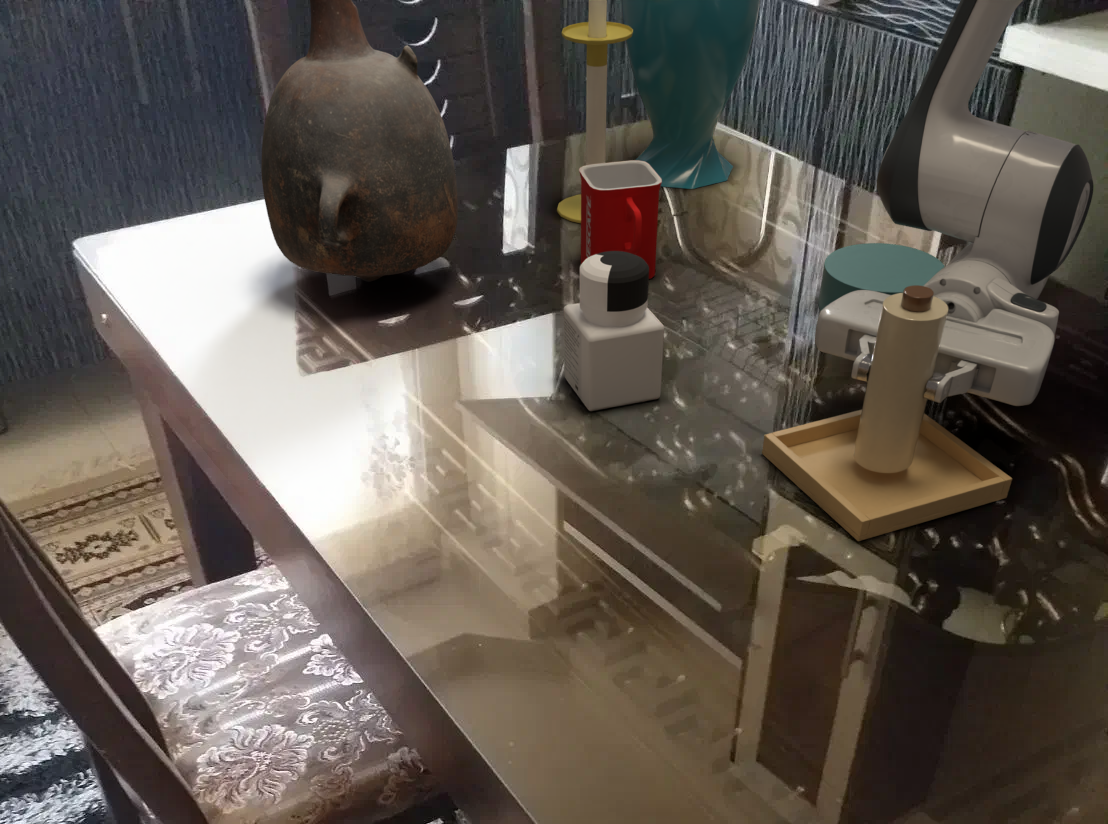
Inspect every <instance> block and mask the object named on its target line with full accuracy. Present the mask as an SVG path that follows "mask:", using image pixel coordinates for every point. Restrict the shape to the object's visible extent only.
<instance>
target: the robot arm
mask: <svg viewBox="0 0 1108 824" xmlns="http://www.w3.org/2000/svg"><path fill="white" fill-rule="evenodd" d="M1023 1H1024V0H960V1H959V3H958V5H957V7H956V9H955V12H954V13H953V16H952V17H951V20H950V22H949V25H948V26H947V29H946V31H945V33H944V35H943V37H942V39H941V41H940V44H939V45H938V48H937V50H936V52H935V54H934V57H933V59H932V61H931V63H930V65H929V67H928V69H927V71H926V73H925V75H924V77H923V79H922V82H921V84H920V86H919V88H918V89H917V90H918V91H917V92H916V95H915V97H914V98H913V100H912V102H911V104H910V105H909V107H908V109H907V111H906V113H905V115H904V117H903V118H902V120H901V122H900V124H899V126H898V128H897V129H896V131H895V133H894V135H893V137H892V138H891V140H890V142H889V144H888V146H887V148H886V150H885V151H884V154H883V156H882V159H881V162H880V165H879V168H878V169H879V170H878V172H877V177H876V184H875V185H876V189H877V194H878V196H879V199H880V201H881V203H882V205H883V208H884V209H885V212H886V213H887V215H888V217H889V218H890V219H891V221H892V223H894V224H895V225H898V226H902V227H907V228H912V229H918V230H922V231H927V232H933V231H934V232H937V233H940V234H943V235H946V236H949V237H952V238H955V239H959V240H961V241H965V242H968V244H967V245H966V246H964V247H963V248H962V249H961V250H959V252H958V253H957V254H955V255H954V256H953V258H952V259H951V260H950V261H949V262H948V264H947V265H944V266H945V267H944V268H942V269H941V270H940V271H939V272H937V273H936V274H935V275H934V276H933V277H932V278H931V279H930V280H929V281H928V282H927V283H926V284H925V285H924V286H925V287H928V288H930V289H932V290H933V292H934V297H937V298H939V299H941V300H942V301H944V302H945V303H946V304H947V306H948V309H949V310H948V315H947V319H946V323H945V327H944V331H943V336H942V340H941V344H940V348H939V352H938V357H937V361H936V365H935V369H934V373H933V375H932V377H931V378H929V380H928V381H927V384H926V392H925V393H924V397H923V398H925V399H927V401H928V400H929V401H931V402H936V403H937V404H941V403H942V402H943V401H944V400H945V399H946V398H947V397H952V396H953V397H954V396H957V395H962V394H963V395H964V394H967V393H968V394H972V395H975V396H978V397H982V398H986V399H989V400H993V401H997V402H1000V403H1004V404H1007V405H1011V406H1014V407H1021V406H1029V405H1031V404H1032V403H1033V402H1034V401H1035V399H1036V398H1037V396H1038V394H1039V392H1040V390H1041V386H1042V383H1043V381H1044V378H1045V375H1046V372H1047V368H1048V366H1049V361H1050V358H1051V355H1052V352H1053V348H1054V345H1055V339H1056V337H1055V336H1056V331H1057V327H1058V323H1059V322H1058V321H1059V315H1060V311H1059V309H1058V308H1057V307H1055V306H1053V305H1052V304H1048V303H1047V302H1045V301H1042V300H1039V297H1040V295H1041V294H1042V292H1043V290H1044V288H1045V286H1046V284H1047V282H1048V279H1049V277H1050V275H1052V274H1053V273H1054V272H1056V271H1057V270H1058V269H1059V268H1060V267H1061V266H1062V265H1063V264H1064V262H1065V260H1067V258H1068V256H1069V254H1070V253H1071V251H1072V250H1073V248H1074V246H1075V244H1076V243H1077V242H1076V241H1077V240H1078V238H1079V236H1080V234H1081V231H1082V229H1083V226H1084V224H1085V221H1086V219H1087V217H1088V213H1089V211H1090V207H1091V203H1092V200H1093V195H1094V180H1093V175H1092V171H1091V167H1090V163H1089V160H1088V157H1087V155H1086V153H1085V151H1084V149H1083V148H1082V147H1081V145H1080V144H1076V143H1074V142H1073V143H1072V142H1070V141H1067V140H1064V139H1061V138H1057V137H1053V136H1050V135H1046V134H1042V133H1039V132H1036V131H1033V130H1024V129H1021V128H1016V127H1013V126H1009V125H1006V124H1002V123H999V122H995V121H991V120H987V119H984V118H980V117H977V116H975V115H973V114H972V112H971V111H970V109H969V102H970V99H971V97H972V95H973V92H974V91H975V89H976V86H977V84H978V82H979V81H980V78H981V77H982V75H983V73H984V70H985V69H986V66H987V65H988V63H989V61H990V59H991V56H992V54H993V53H994V51H995V49H996V47H997V45H998V43H999V41H1000V39H1001V37H1002V35H1003V33H1004V30H1005V29H1006V26H1007V25H1008V23H1009V20H1010V19H1011V17H1012V15H1013V13H1014V12H1015V10H1016V9H1017V8H1018V7H1019V5H1021V3H1022V2H1023ZM889 296H891V295H888V294H884V293H880V292H876V291H871V290H857V291H853V292H850V293H848V294H846V295H844V296H842V297H840V298H838V299H837V300H835V301H833V302H832V303H830V304H829V305H827V306H826V307H825V308H823V309H822V310H820V311H819V314H818V317H817V320H816V326H815V333H814V344H815V347H816V348H817V350H818V351H819V352H822V353H824V354H828V355H831V356H835V357H838V358H842V359H846V360H849V361H853V364H852V370H851V375H850V377H851V379H854V380H858V381H861V382H865V383H867V382H868V377H869V372H870V366H871V361H872V356H873V351H874V346H875V341H876V336H877V331H878V326H879V320H880V315H881V310H882V305H883V302H884V300H885V299H886V298H887V297H889Z"/></svg>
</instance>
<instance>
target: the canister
mask: <svg viewBox="0 0 1108 824" xmlns="http://www.w3.org/2000/svg"><path fill="white" fill-rule="evenodd" d="M948 310H949V309H948V306H947V304H946V303H945V302H944V301H942V300H941V299H939V298H937V297H934V292H933V290H932V289H930V288H928V287H925V286H919V285H913V286H908V287H906V288H905V289H904V290H903V293H898V294H894V295H891V296H889V297H887V298H886V299H885V300H884V302H883V305H882V310H881V315H880V320H879V326H878V331H877V336H876V341H875V346H874V351H873V356H872V361H871V366H870V372H869V377H868V382H866V388H865V392H864V398H863V403H862V408H861V410H862V412H861V418H860V423H859V428H858V433H857V438H856V443H855V448H854V453H853V456H854V459H855V461H856V462H857V463H858V464H859V465H860V466H862V467H864V468H866V469H868V470H871V471H874V472H879V473H896V472H901V471H903V470H906V469H907V468H908V467H910V465H911V464H912V461H913V457H914V453H915V449H916V445H917V440H918V436H919V432H920V428H921V424H922V419H923V415H924V414H925V410H926V407H927V402H928V399H925V398H923V397H924V393H925V392H926V384H927V381H928V380H929V378H931V377H932V375H933V373H934V369H935V365H936V361H937V357H938V352H939V348H940V344H941V340H942V336H943V331H944V327H945V323H946V319H947V315H948Z"/></svg>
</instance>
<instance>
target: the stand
mask: <svg viewBox="0 0 1108 824" xmlns="http://www.w3.org/2000/svg"><path fill="white" fill-rule="evenodd" d="M945 266H946V265H945V264H944V263H943V262H942V261H941V260H940V259H939V258H937V257H936V256H934V255H933V254H930V253H929V252H926V251H925V250H924V251H923V250H922V249H918V248H914V247H911V246H907V245H900V244H895V243H886V242H868V243H867V242H866V243H857V244H851V245H848V246H843V247H841V248H838V249H835V250H834V251H832V252H831V253H829V254H828V255H827V256H826V258H825V259H824V263H823V268H822V274H821V275H822V276H821V282H820V287H819V296H818V301H817V302H818V303H817V305H818V309H819V310H820V311H821V310H822V309H823V308H825V307H826V306H827V305H829V304H830V303H832V302H833V301H835V300H837V299H838V298H840V297H842V296H844V295H846V294H848V293H850V292H853V291H857V290H871V291H876V292H880V293H884V294H888V295H894V294H898V293H903V290H904V289H905V288H906V287H908V286H913V285H919V286H924V285H925V284H926V283H927V282H928V281H929V280H930V279H931V278H932V277H933V276H934V275H935V274H936V273H937V272H939V271H940V270H941V269H942V268H944V267H945Z"/></svg>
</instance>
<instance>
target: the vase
mask: <svg viewBox="0 0 1108 824" xmlns="http://www.w3.org/2000/svg"><path fill="white" fill-rule="evenodd" d="M760 6H761V0H621V11H622V24H624V25H627V26H629V27H631V28H632V29H633V34H632V37H631V38H629V39H627V40H625V44H626V50H627V54H628V60H629V63H630V67H631V71H632V75H633V78H634V82H635V85H636V88H637V91H638V94H639V97H640V99H641V102H642V105H643V107H644V110H645V112H646V115H647V117H648V120H649V123H650V126H651V131H652V139H651V141H650V142H649V144H648V146H646V148H645V149H644V150H643V151H642V152H641V153H640V155H638V156H637V157H636V158H635V159H634V160H639V161H644V162H647V163H648V164H650V166H651V167H652V168H653V169H654V170H655V172H656V173H657V174H658V175H659V177H660V178H661V179H662V183H661V186H660V187H662V188H664V187H665V188H674V189H675V188H677V189H687V190H694V189H699V188H701V187H706V186H710V185H714V184H719V183H722V182H726V181H728V180H729V177H730V175H731V172H732V170H733V168H734V165H733V164H732V163H730V161H729V160H728V159H727V158H726V157H724V156H723V155H722V154H721V153H720V152H719V151H718V150H717V146H716V144H715V143H716V142H715V139H714V133H715V130H716V127H717V124H718V123H719V121H720V118H721V116H722V114H723V112H724V110H725V108H726V107H727V104H728V102H729V100H730V98H731V95H732V94H733V91H734V89H735V87H736V85H737V84H738V81H739V80H740V76H741V74H742V73H743V70H744V68H745V64H746V62H747V59H748V56H749V53H750V49H751V47H752V43H753V40H754V36H755V33H756V27H757V24H758V18H759V13H760Z"/></svg>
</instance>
